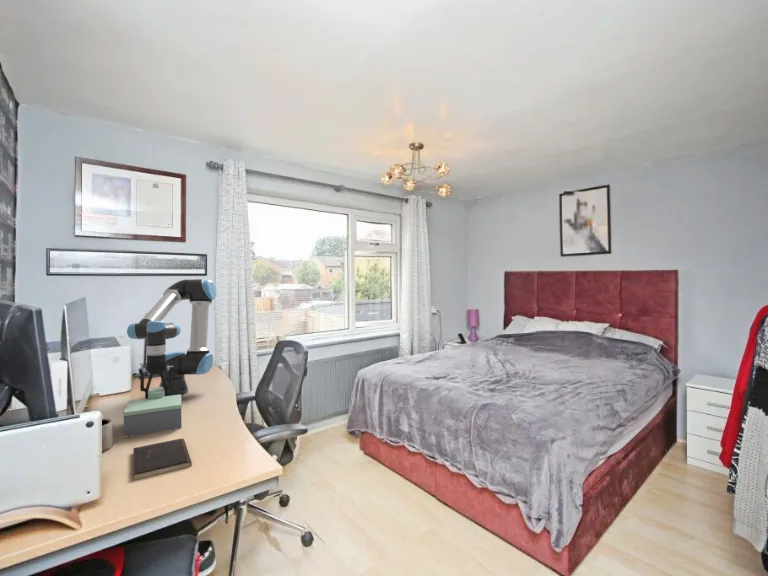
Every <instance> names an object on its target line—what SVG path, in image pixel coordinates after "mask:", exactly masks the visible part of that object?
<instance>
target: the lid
mask: <svg viewBox="0 0 768 576" xmlns="http://www.w3.org/2000/svg"><path fill="white" fill-rule="evenodd" d="M149 389H150V390H149V391H150V392H149V398H148V399H145V398H143V399H134V400H133V399H132V400H128V403H127V405H126V407H125V409H124V411H123V417H124V416H130V415H137V414H144V413H151V412H158V411H165V410H172V409H179V408H181V409H182V395H181V394H180V395H172V396H164V397H163V387H159V386H158V387H157V386H156V387H151V388H149Z"/></svg>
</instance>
